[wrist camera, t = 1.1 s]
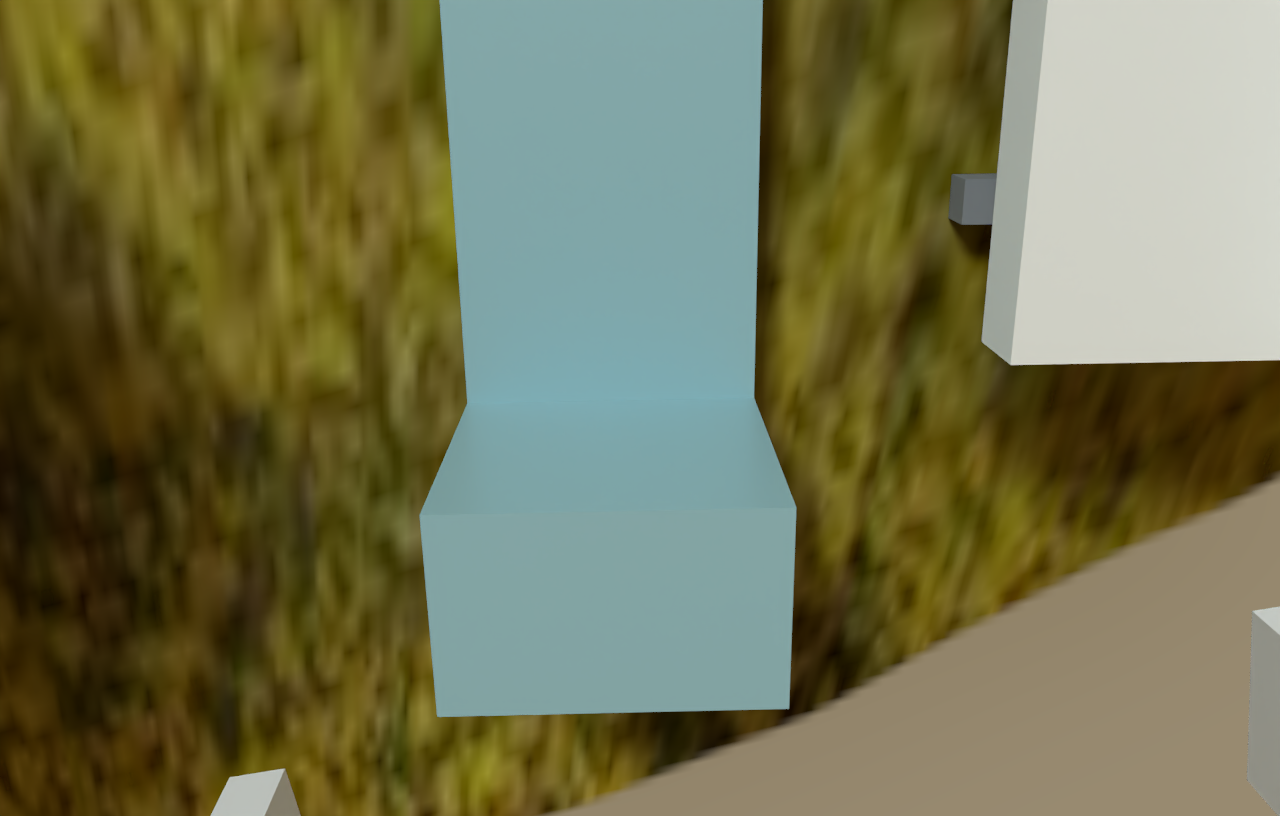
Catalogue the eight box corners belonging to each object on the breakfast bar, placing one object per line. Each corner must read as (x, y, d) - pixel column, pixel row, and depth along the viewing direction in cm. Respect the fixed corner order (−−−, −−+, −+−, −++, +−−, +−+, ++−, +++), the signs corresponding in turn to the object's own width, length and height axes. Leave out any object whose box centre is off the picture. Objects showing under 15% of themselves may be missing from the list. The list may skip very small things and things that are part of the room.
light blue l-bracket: (744, 536, 33) (789, 709, 24) (484, 542, 33) (437, 716, 24) (762, -339, 25) (834, -535, 17) (426, -336, 25) (328, -531, 17)
